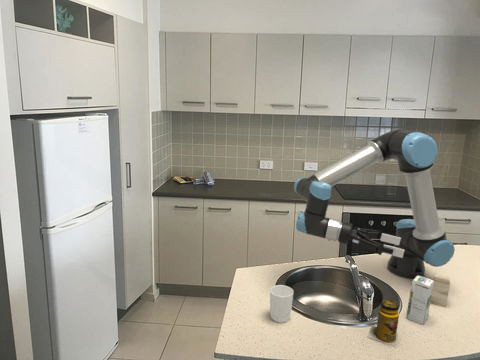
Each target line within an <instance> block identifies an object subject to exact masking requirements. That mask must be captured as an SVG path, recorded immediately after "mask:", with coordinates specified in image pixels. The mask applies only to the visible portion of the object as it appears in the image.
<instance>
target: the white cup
mask: <svg viewBox="0 0 480 360" xmlns="http://www.w3.org/2000/svg"><path fill="white" fill-rule="evenodd" d="M293 300H294V289H293V288H291V287H290V286H287V285H285V284H278V285H273V286H271V287H270V289H269V309H270V311H269V313H270V314H269V316H270V319H271V320H272V321H274V322H275V323H276V322H277V323H281V324H282V323H286V322H288V321H290V320H291V312H292V309H293Z"/></svg>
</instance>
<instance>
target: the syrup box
mask: <svg viewBox="0 0 480 360" xmlns="http://www.w3.org/2000/svg"><path fill="white" fill-rule="evenodd" d="M433 285H434V281H433V279H430V278H428V277H425V276H423V277H422V276H417V277H416V278H413V280H412V281H411V286H410V287H411V288H410V291H409V293H410V294H409V298H408V305H407V309H406V317H405V318H406V319H408V320H410V321H413V322H415V323H418V324H421V325H424V324H425V322H426V321H427V319H428V317H429V313H430V306H431V296H432V290H433Z"/></svg>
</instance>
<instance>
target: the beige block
mask: <svg viewBox="0 0 480 360" xmlns="http://www.w3.org/2000/svg"><path fill="white" fill-rule="evenodd" d="M432 280H433V281H434V285H433V290H432V296H431V302H430V305H432V306H437V307H442V308H447V302H448V296H449V290H450V284H451V281H450V277H449V276H448V275H443V274H436V273H434V274H433V278H432Z"/></svg>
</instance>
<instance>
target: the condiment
mask: <svg viewBox="0 0 480 360" xmlns="http://www.w3.org/2000/svg"><path fill="white" fill-rule="evenodd" d="M379 307H380V308H378V313H377V314H378V315H377V322H376V326H375V325H374V324H373V325H372V324H371V326H370V328H369V331H368V334H367V338H368V339H372V340H375V341H378V342H381V343H383V344H386V345H389V346H390V345H391V346H393V347H396V343H397V340H398V336H399V333H398V324H399V317H400V313H399V308H400V307H399V304H398V302H396V301H394V300H391V299H383V300H382V301H381V303H380V306H379Z"/></svg>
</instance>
